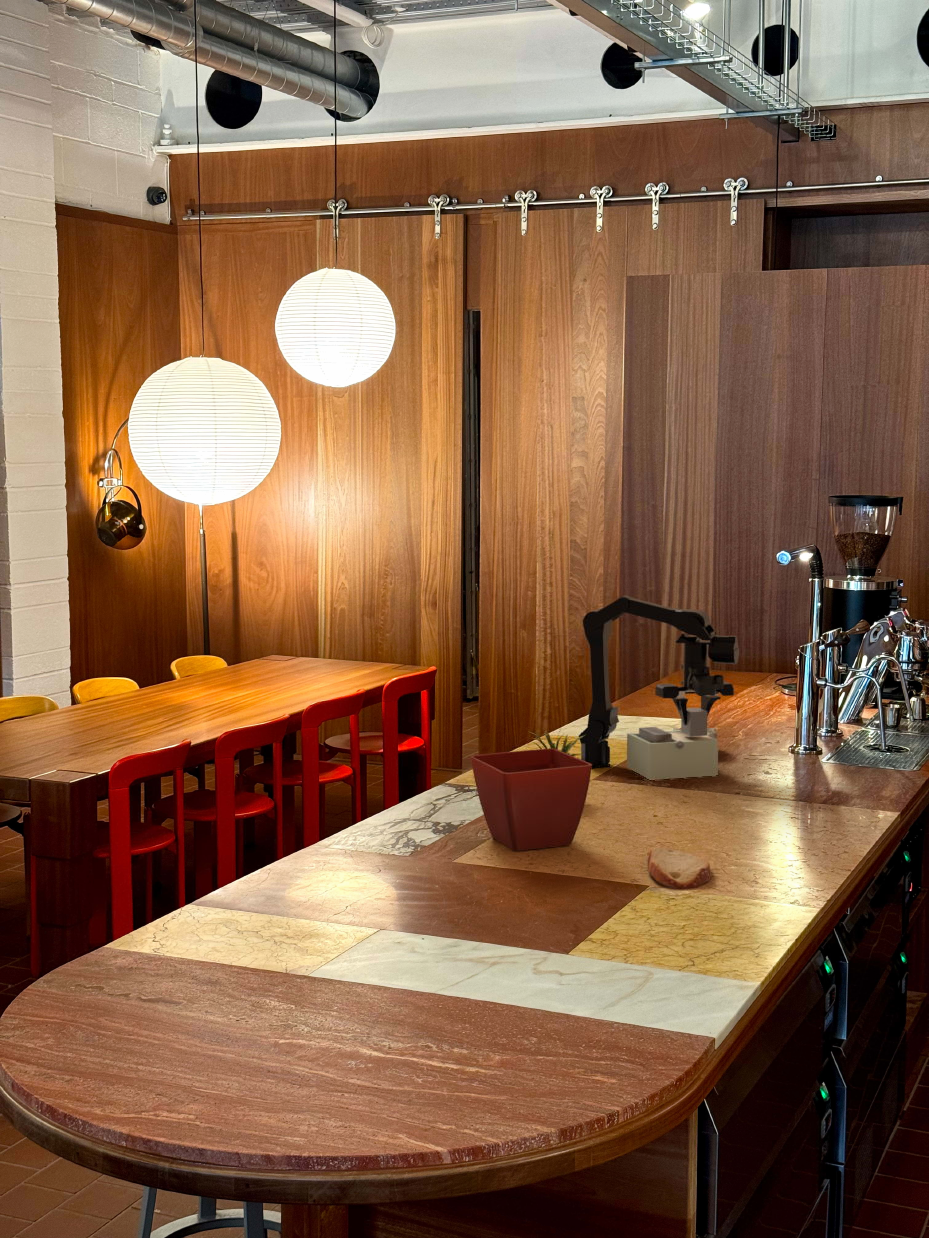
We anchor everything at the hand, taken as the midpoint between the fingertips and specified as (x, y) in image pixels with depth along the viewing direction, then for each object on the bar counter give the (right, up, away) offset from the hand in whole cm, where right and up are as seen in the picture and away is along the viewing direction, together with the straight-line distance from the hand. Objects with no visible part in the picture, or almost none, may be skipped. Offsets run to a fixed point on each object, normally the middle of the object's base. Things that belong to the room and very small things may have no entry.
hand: (694, 724), depth 333 cm
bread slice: (-18, -22, -81) cm, 86 cm away
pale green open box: (-5, -12, +3) cm, 13 cm away
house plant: (-37, -15, -23) cm, 46 cm away
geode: (+4, -10, +25) cm, 28 cm away
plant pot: (-43, -19, -60) cm, 76 cm away
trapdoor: (-4, -6, +2) cm, 7 cm away
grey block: (0, -2, 0) cm, 2 cm away
